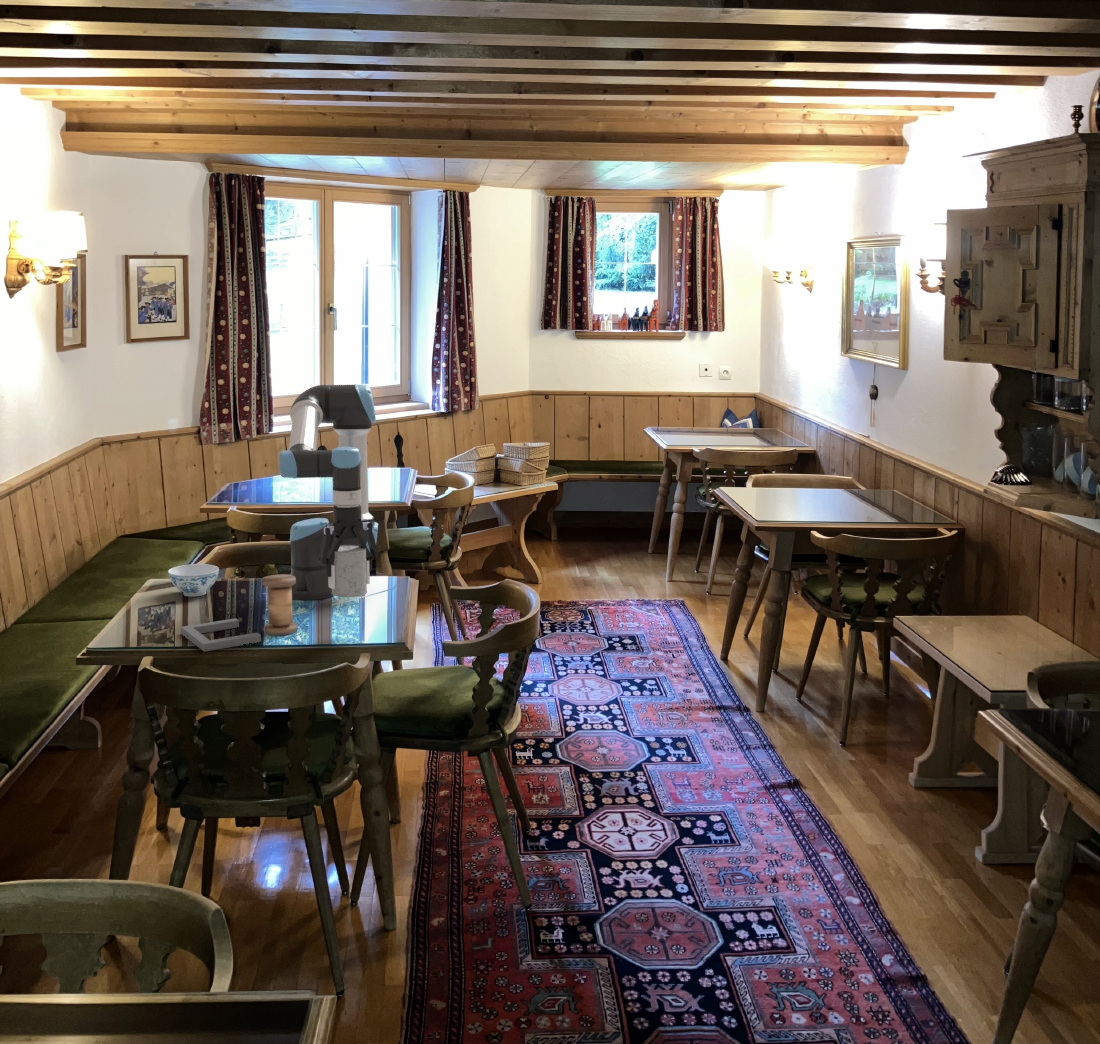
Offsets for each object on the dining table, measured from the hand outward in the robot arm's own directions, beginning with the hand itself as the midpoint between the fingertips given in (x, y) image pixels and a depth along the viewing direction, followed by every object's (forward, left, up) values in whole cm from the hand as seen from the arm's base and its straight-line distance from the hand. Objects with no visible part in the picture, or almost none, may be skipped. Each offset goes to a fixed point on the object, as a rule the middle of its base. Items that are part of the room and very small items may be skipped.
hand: (349, 585), depth 317 cm
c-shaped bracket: (-16, -31, -14) cm, 38 cm away
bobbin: (-14, -15, -14) cm, 24 cm away
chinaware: (-66, -22, -14) cm, 71 cm away
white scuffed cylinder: (0, 0, -2) cm, 2 cm away
